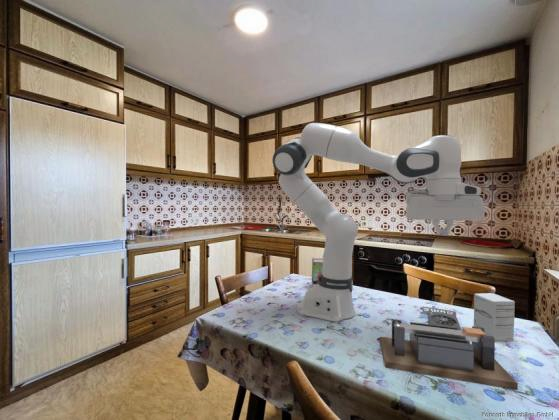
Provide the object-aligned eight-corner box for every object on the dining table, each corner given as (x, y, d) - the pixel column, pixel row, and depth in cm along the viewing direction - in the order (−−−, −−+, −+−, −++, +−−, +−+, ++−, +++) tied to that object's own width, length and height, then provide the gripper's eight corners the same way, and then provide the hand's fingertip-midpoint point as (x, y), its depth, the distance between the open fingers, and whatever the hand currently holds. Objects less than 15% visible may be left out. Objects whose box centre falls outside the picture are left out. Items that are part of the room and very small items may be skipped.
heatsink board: (385, 367, 64) (385, 330, 64) (379, 341, 77) (380, 310, 77) (517, 389, 57) (518, 348, 57) (487, 356, 69) (487, 322, 69)
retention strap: (395, 332, 68) (395, 323, 68) (393, 327, 71) (393, 318, 71) (490, 345, 62) (490, 335, 62) (484, 338, 65) (484, 329, 65)
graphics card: (419, 305, 98) (456, 310, 93) (420, 314, 98) (457, 320, 93) (420, 322, 84) (464, 330, 78) (421, 333, 84) (465, 342, 78)
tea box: (313, 291, 121) (313, 261, 121) (311, 285, 132) (311, 257, 131) (344, 292, 121) (344, 262, 121) (340, 286, 131) (340, 258, 131)
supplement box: (472, 330, 84) (473, 293, 84) (492, 329, 85) (493, 292, 85) (493, 341, 77) (493, 301, 77) (515, 341, 78) (515, 300, 78)
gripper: (407, 189, 76) (407, 234, 76) (487, 188, 70) (487, 237, 70) (403, 190, 82) (403, 232, 82) (476, 189, 76) (476, 235, 76)
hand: (442, 235), depth 76 cm, fingers closed
